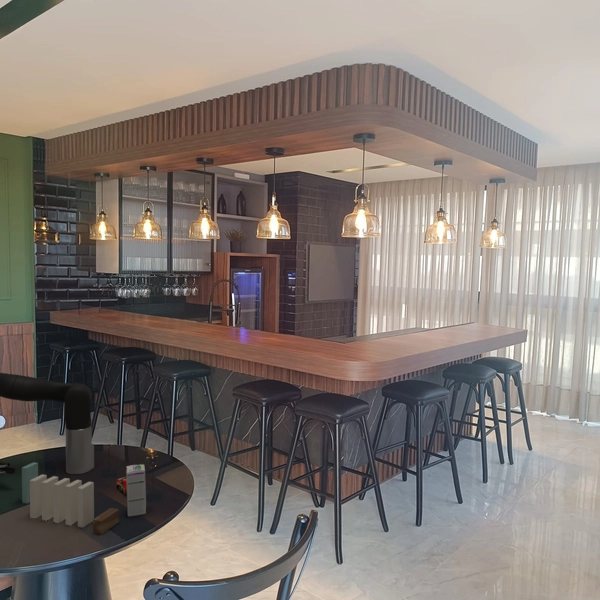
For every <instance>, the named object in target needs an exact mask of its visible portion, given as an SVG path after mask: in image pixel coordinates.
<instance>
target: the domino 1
mask: <svg viewBox="0 0 600 600" xmlns="http://www.w3.org/2000/svg"><path fill="white" fill-rule="evenodd" d="M38 476H39V463H38V462H34V461H33V462H31V463H29V464H26V465H24V466H23V467H21V488H22V489H21V501H22V502H21V503H22V504H25V503H26V504H25V505H28V504H30V480H32V479H34V478H36V477H38Z"/></svg>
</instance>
